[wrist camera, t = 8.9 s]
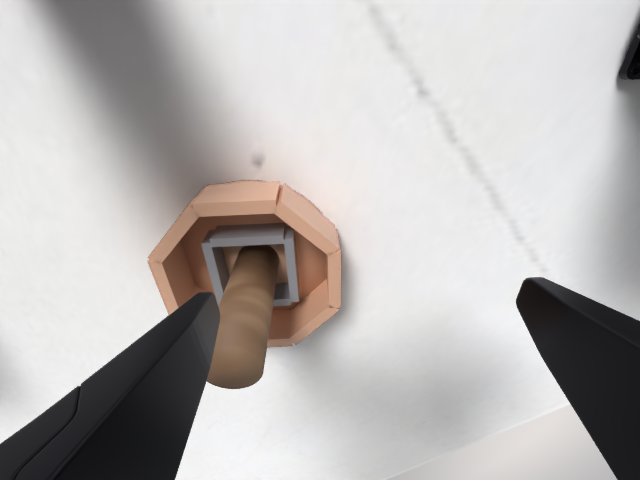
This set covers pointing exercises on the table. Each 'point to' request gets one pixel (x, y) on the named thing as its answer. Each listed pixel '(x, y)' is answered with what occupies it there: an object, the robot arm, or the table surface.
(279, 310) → the tan polygonal bowl
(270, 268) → the wooden dowel rod
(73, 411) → the robot arm
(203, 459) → the table surface
